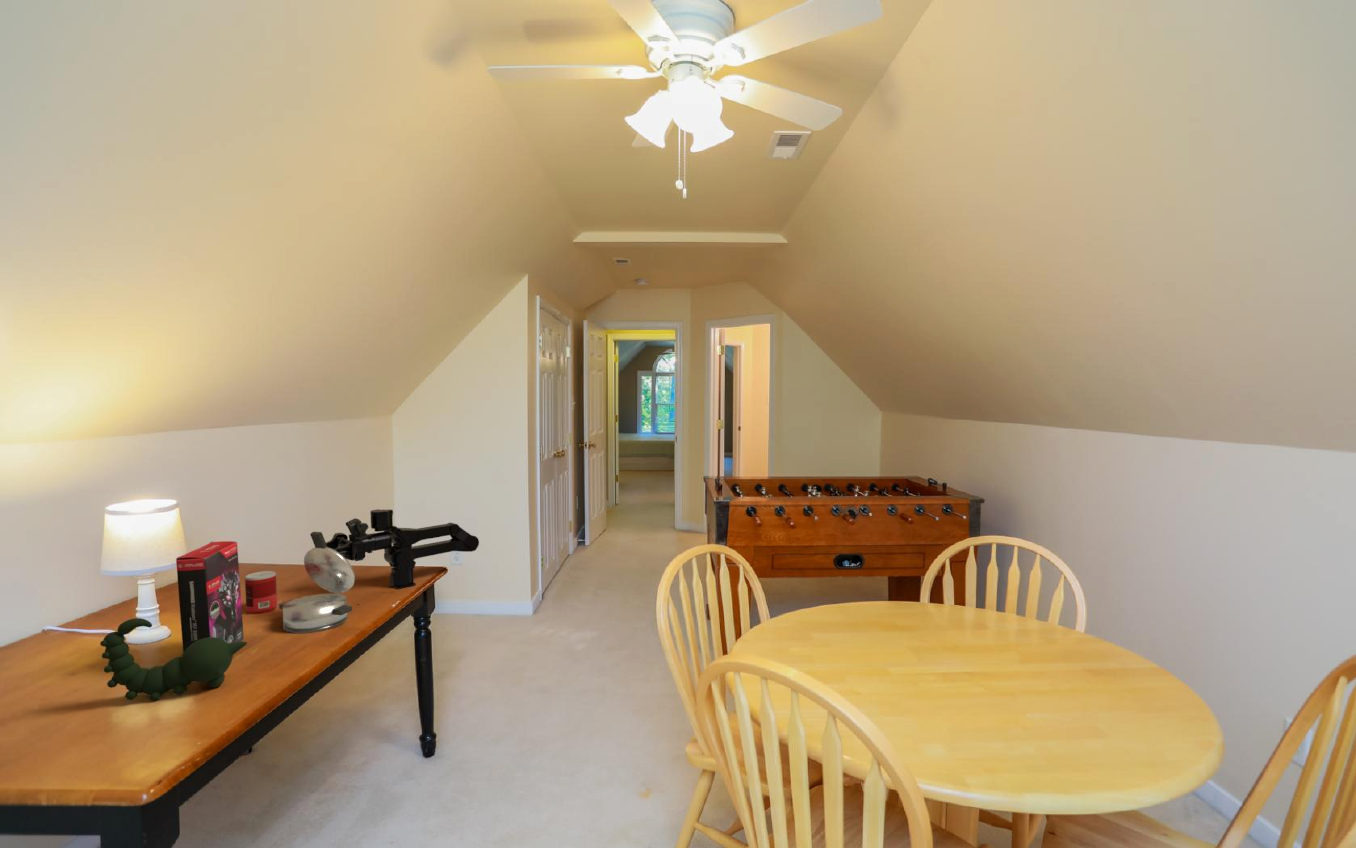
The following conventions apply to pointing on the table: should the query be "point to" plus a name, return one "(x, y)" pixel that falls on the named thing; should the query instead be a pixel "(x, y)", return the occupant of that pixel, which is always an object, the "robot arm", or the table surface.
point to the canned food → (261, 592)
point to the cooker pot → (314, 613)
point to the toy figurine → (196, 664)
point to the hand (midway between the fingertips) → (320, 551)
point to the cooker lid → (328, 566)
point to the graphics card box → (210, 593)
